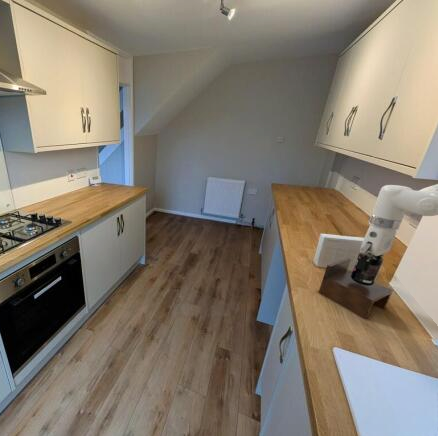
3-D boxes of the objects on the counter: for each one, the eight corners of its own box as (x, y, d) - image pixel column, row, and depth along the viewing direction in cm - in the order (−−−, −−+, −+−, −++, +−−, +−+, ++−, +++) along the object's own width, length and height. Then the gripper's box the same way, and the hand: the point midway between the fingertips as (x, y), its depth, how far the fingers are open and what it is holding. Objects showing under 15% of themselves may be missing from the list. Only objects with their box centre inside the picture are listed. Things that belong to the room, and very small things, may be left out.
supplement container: (366, 277, 91) (375, 253, 87) (378, 287, 85) (388, 262, 81) (346, 274, 93) (354, 251, 89) (356, 284, 86) (365, 260, 83)
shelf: (385, 307, 89) (398, 278, 84) (365, 319, 83) (378, 288, 79) (338, 284, 103) (347, 257, 98) (318, 292, 97) (327, 265, 92)
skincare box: (361, 267, 115) (372, 238, 109) (367, 273, 110) (379, 243, 105) (311, 261, 120) (320, 232, 115) (315, 266, 115) (324, 237, 110)
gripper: (385, 229, 74) (366, 278, 80) (411, 221, 81) (392, 267, 87) (357, 221, 80) (341, 267, 86) (383, 215, 87) (367, 257, 93)
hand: (367, 266), depth 87 cm, fingers closed on supplement container, 6 cm apart
